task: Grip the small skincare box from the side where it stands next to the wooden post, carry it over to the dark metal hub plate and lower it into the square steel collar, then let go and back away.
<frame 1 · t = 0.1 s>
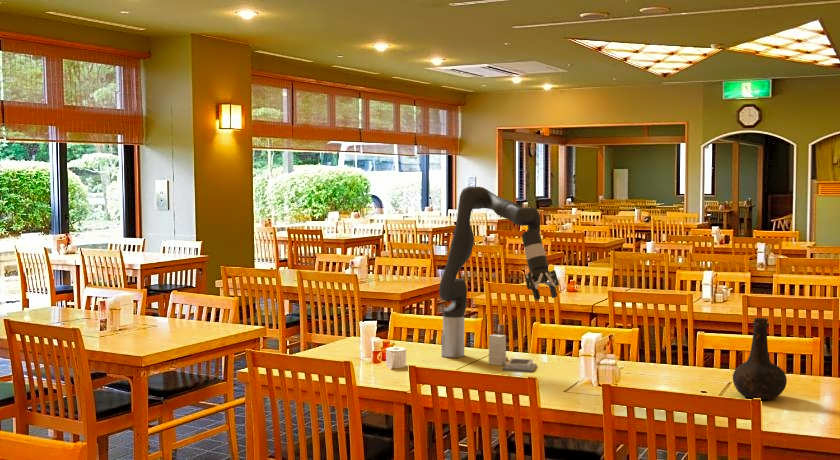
hand: (546, 298, 340), 31 cm above the table, tool tilted 20°, fingers open, 8 cm apart
stand post: (500, 359, 380), on the table
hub: (519, 368, 364), on the table
glass bottle: (758, 398, 317), on the table
toilet paper: (393, 367, 366), on the table
skincare box: (497, 364, 371), on the table
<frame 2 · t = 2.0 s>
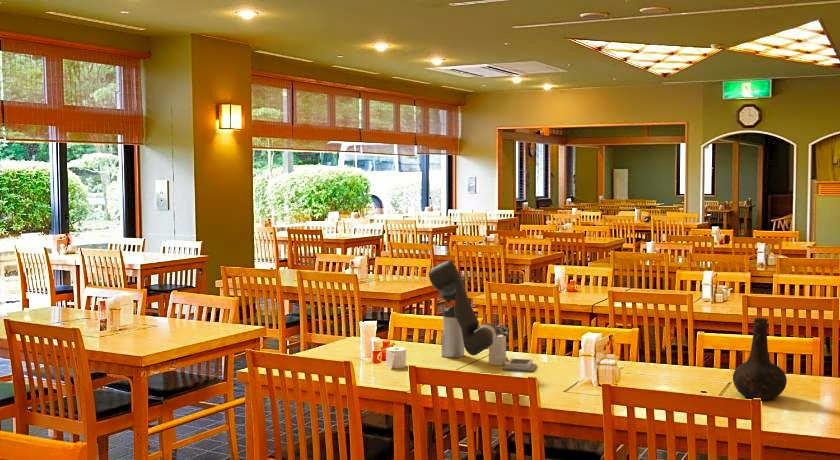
hand: (493, 327, 359), 17 cm above the table, tool horizontal, fingers open, 8 cm apart
nothing on the table moved.
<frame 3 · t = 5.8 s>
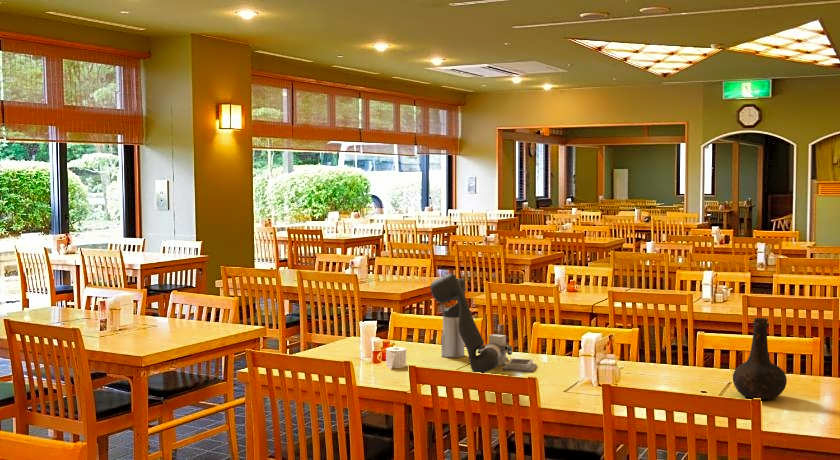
hand: (498, 346, 373), 7 cm above the table, tool horizontal, fingers closed on skincare box, 7 cm apart
skincare box: (497, 364, 371), on the table, touching gripper
everything else where it was.
when the fingers open (9 cm above the table, at t = 10.5 s): skincare box drops 1 cm, resting on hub.
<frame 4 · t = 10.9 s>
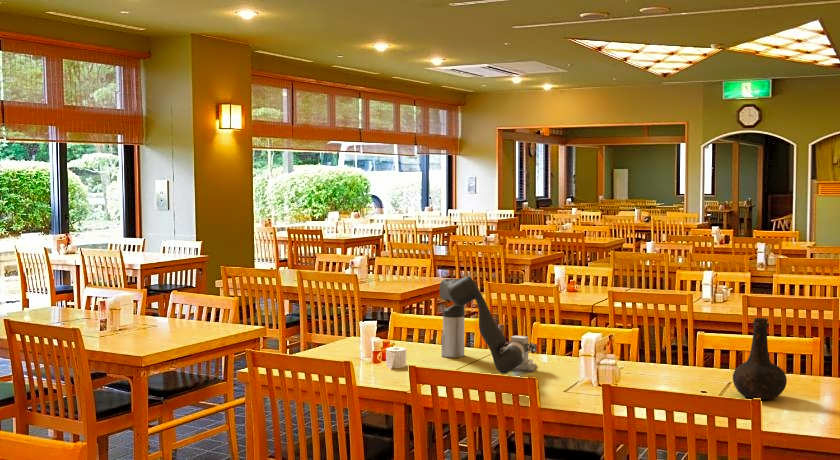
hand: (520, 344, 365), 9 cm above the table, tool horizontal, fingers open, 8 cm apart
skincare box: (519, 366, 364), point 1 cm above the table, touching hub
everything else where it was.
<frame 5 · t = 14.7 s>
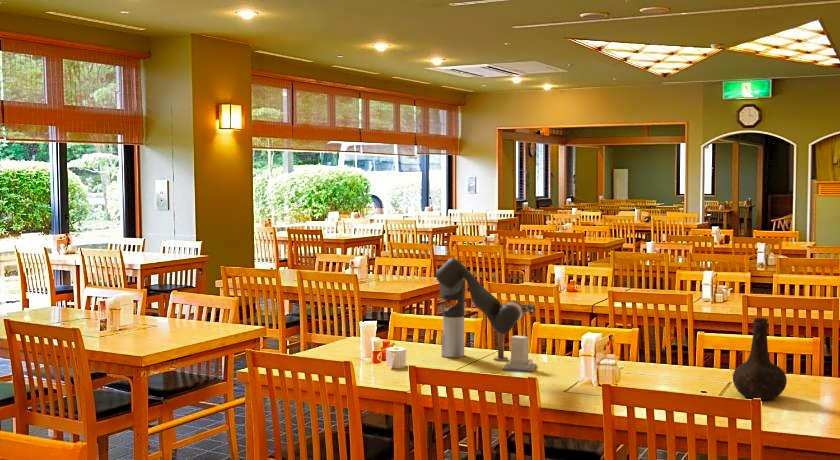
hand: (518, 306, 357), 26 cm above the table, tool horizontal, fingers open, 8 cm apart
nothing on the table moved.
at the end: skincare box 0.2 cm off-centre on the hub, point 0.6 cm above the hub's base; skincare box tilted 0°; the gripper is holding nothing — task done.
